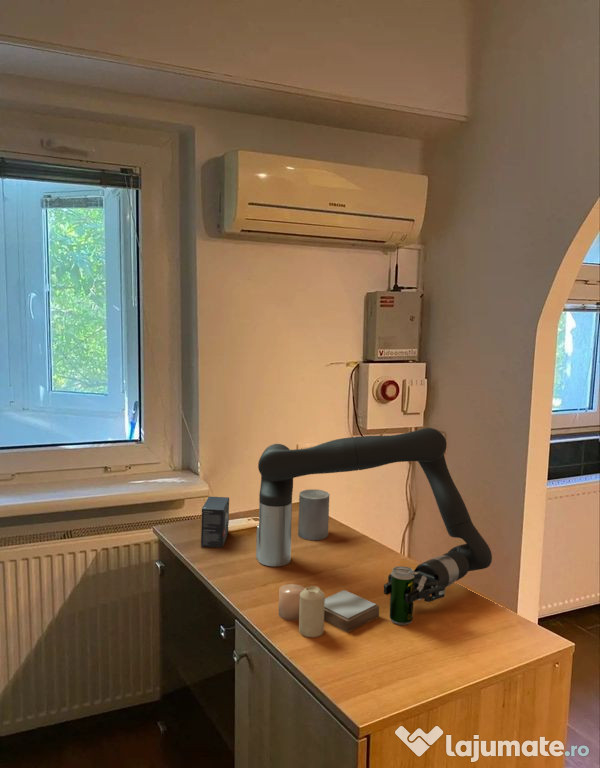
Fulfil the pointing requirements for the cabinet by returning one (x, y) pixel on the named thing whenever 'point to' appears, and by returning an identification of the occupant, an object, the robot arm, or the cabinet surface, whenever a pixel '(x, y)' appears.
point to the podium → (349, 610)
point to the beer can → (401, 595)
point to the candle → (311, 612)
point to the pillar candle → (313, 514)
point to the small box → (215, 522)
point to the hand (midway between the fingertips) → (395, 594)
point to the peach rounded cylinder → (289, 601)
